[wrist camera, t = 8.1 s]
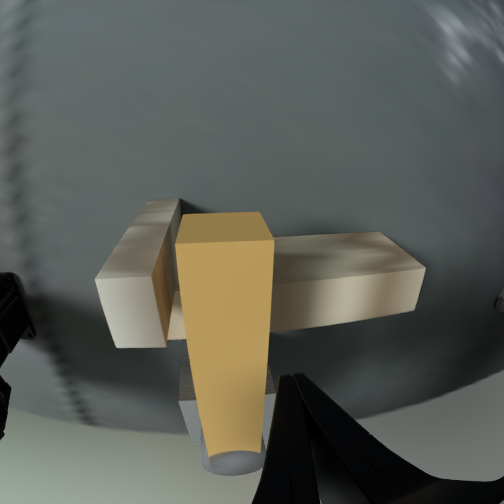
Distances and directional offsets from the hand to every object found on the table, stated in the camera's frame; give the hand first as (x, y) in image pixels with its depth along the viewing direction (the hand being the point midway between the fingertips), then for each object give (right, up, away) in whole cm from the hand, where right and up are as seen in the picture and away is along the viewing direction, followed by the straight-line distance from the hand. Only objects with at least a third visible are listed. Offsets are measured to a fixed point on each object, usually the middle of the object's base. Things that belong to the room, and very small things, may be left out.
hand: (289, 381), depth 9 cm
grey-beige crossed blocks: (-1, +5, +11) cm, 12 cm away
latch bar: (-3, -2, +6) cm, 7 cm away
